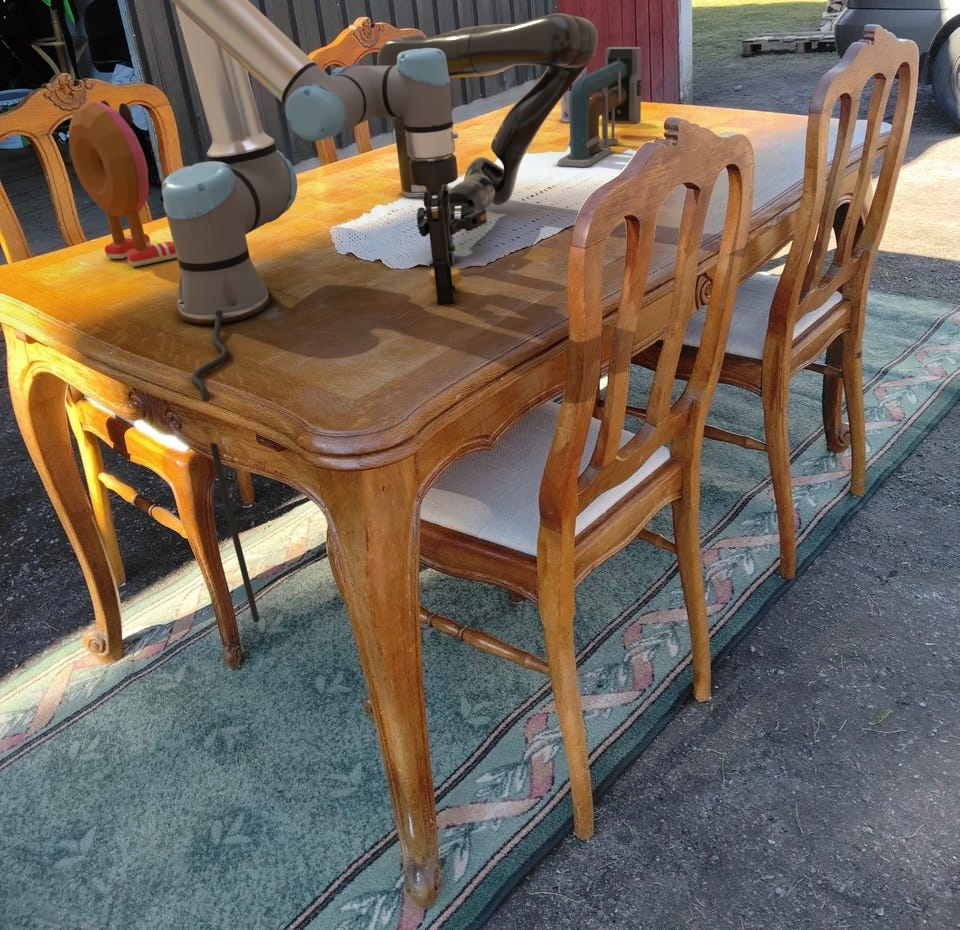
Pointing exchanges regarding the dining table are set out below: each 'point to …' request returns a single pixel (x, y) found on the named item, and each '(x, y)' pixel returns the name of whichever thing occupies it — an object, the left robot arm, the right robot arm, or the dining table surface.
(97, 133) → the toy
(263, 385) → the dining table surface
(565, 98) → the aerosol can
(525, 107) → the right robot arm
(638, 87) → the clamp
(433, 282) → the lid
